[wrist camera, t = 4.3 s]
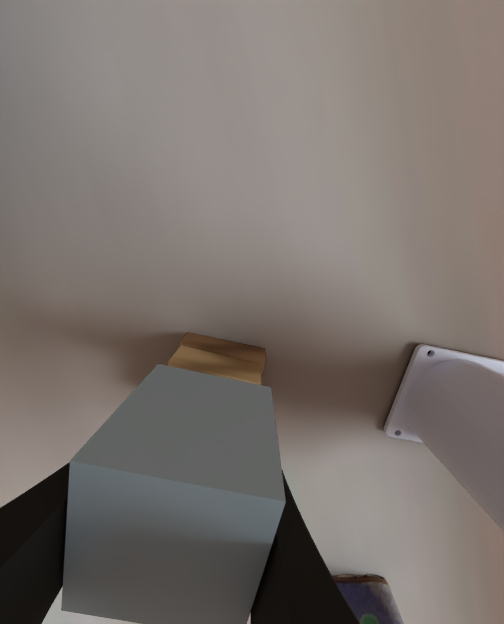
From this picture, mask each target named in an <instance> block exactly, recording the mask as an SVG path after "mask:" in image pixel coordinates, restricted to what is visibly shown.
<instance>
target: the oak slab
mask: <svg viewBox="0 0 504 624" xmlns="http://www.w3.org/2000/svg"><path fill="white" fill-rule="evenodd" d="M167 366H171V367H176V368H181V369H186V370H190V371H195V372H200V373H205V374H210V375H215V376H219V377H224V378H229V379H234V380H239V381H244V382H248V383H253V384H258V385H261V372H260V364H256V363H252V362H248V361H244V360H240V359H236V358H232V357H227V356H223V355H219V354H215V353H211V352H207V351H203V350H199V349H195V348H191V347H187V346H183V345H181V346H180V347H179V348H178V350H177V351H176V352H175V353H174V354H173V356H172V357H171V358H170V359H169V361H168V364H167Z"/></svg>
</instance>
